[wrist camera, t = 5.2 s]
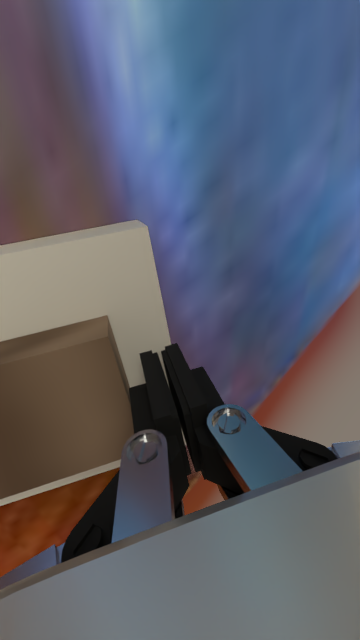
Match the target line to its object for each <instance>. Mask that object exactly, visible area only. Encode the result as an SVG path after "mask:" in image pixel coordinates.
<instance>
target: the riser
mask: <svg viewBox="0 0 360 640" xmlns="http://www.w3.org/2000/svg"><path fill="white" fill-rule="evenodd" d="M106 315H108V318H109V322H110V325H111V328H112V331H113V334H114V338H115V341H116V344H117V347H118V351H119V354H120V357H121V360H122V363H123V367H124V370H125V373H126V376H127V379H128V383H129V386H130V388H131V387H134V386H137V385H141V384H144V383H146V382H145V377H144V373H143V368H142V364H141V359H140V354H139V353H143V352H147V351H150V350H152V353H155V352H157V353H158V356H159V359H160V362H161V365H162V368H163V371H164V374H165V377H166V380H167V376H166V371H165V367H164V363H163V358H162V354H161V351H163V350H165V346H168V345H171V341H170V336H169V331H168V326H167V321H166V316H165V311H164V306H163V301H162V296H161V291H160V286H159V281H158V276H157V271H156V266H155V261H154V256H153V251H152V246H151V241H150V236H149V231H148V226H146V225H145V224H143V223H142V222H140V221H139V220H132V221H127V222H121V223H116V224H111V225H106V226H100V227H95V228H90V229H85V230H79V231H74V232H69V233H64V234H58V235H53V236H48V237H43V238H37V239H32V240H27V241H22V242H16V243H11V244H6V245H0V342H1V341H5V340H9V339H13V338H17V337H21V336H25V335H29V334H33V333H37V332H41V331H45V330H49V329H53V328H57V327H62V326H66V325H70V324H74V323H78V322H82V321H86V320H90V319H94V318H98V317H102V316H106ZM167 383H168V380H167ZM168 386H169V384H168ZM169 389H170V388H169ZM181 430H182V429H181ZM182 434H183V432H182ZM183 439H184V443H185V445H187V444H186V441H185V438H184V435H183ZM120 463H121V459H120V460H117V461H114V462H111V463H108V464H105V465H102V466H99V467H96V468H93V469H90V470H87V471H84V472H81V473H78V474H75V475H72V476H69V477H66V478H63V479H60V480H57V481H54V482H51V483H48V484H45V485H42V486H39V487H36V488H33V489H30V490H27V491H24V492H21V493H18V494H15V495H12V496H9V497H6V498H3V499H0V506H2V505H5V504H8V503H11V502H14V501H17V500H20V499H23V498H26V497H29V496H32V495H35V494H38V493H41V492H45V491H48V490H51V489H54V488H57V487H60V486H63V485H66V484H69V483H72V482H75V481H78V480H81V479H84V478H87V477H90V476H94V475H97V474H100V473H103V472H106V471H109V470H112V469H115V468H118V467H120Z"/></svg>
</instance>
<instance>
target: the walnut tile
mask: <svg viewBox="0 0 360 640" xmlns="http://www.w3.org/2000/svg"><path fill="white" fill-rule="evenodd" d="M129 388H130V386H129V383H128V379H127V376H126V373H125V370H124V367H123V363H122V360H121V357H120V354H119V351H118V347H117V344H116V341H115V338H114V334H113V331H112V328H111V325H110V322H109V318H108V315H106V316H102V317H98V318H94V319H90V320H86V321H82V322H78V323H74V324H70V325H66V326H62V327H57V328H53V329H49V330H45V331H41V332H37V333H33V334H29V335H25V336H21V337H17V338H13V339H9V340H5V341H1V342H0V499H3V498H6V497H9V496H12V495H15V494H18V493H21V492H24V491H27V490H30V489H33V488H36V487H39V486H42V485H45V484H48V483H51V482H54V481H57V480H60V479H63V478H66V477H69V476H72V475H75V474H78V473H81V472H84V471H87V470H90V469H93V468H96V467H99V466H102V465H105V464H108V463H111V462H114V461H117V460H120V459H121V454H122V450H123V446H124V445H125V443H126V441H127V440H128V439H129V438H130V437H131V436H132V435H134V428H133V420H132V412H131V403H130V395H129Z"/></svg>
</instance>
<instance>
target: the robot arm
mask: <svg viewBox="0 0 360 640" xmlns="http://www.w3.org/2000/svg"><path fill="white" fill-rule="evenodd" d="M139 354H140V359H141V364H142V368H143V373H144V377H145V382H146V383H144V384H141V385H137V386H134V387H131V388H129V395H130V403H131V412H132V420H133V428H134V435H132V436H131V437H130V438H129V439H128V440H127V441H126V443H125V445H124V446H123V450H122V454H121V463H120V470H119V471H118V473H117V474H116V475H115V476H114V478H113V479H112V480H111V482H110V483H109V484H108V485H107V487H106V488H105V489H104V490H103V492H102V493H101V494H100V496H99V497H98V498H97V499H96V501H95V502H94V503H93V505H92V506H91V507H90V508H89V510H88V511H87V512H86V513H85V515H84V516H83V517H82V519H81V520H80V521H79V522H78V524H77V525H76V526H75V528H74V529H73V530H72V531H71V533H70V535H69V536H68V538H67V539H66V542H65V543H64V544H62V545H60V546H59V547H56V546H55V544H54V545H53V546H51V547H50V548H48V549H46V550H45V551H43V552H41V553H40V554H38V555H36V556H35V557H33V558H32V559H30V560H28V561H27V562H25V563H23V564H22V565H20V566H18V567H17V568H15V569H13V570H12V571H10V572H9V573H7V574H5V575H4V576H2V577H0V640H360V440H359V441H351V442H341V443H333V444H332V447H329V448H326V447H325V446H323V445H321V444H318V443H316V442H312V441H309V440H306V439H302V438H299V437H296V436H292V435H289V434H286V433H282V432H279V431H276V430H272V429H269V428H266V427H262V426H260V425H259V424H258V423H257V422H256V420H255V419H254V418H253V417H252V416H251V415H250V414H249V413H248V412H247V411H246V410H245V409H243V408H242V407H240V406H237V405H232V404H227V405H225V404H224V402H223V401H222V399H221V397H220V395H219V394H218V392H217V390H216V389H215V387H214V385H213V383H212V382H211V380H210V378H209V376H208V375H207V373H206V371H205V370H204V368H203V367H199V368H196V369H192V370H190V369H189V367H188V365H187V363H186V361H185V359H184V357H183V354H182V352H181V350H180V348H179V346H178V344H177V343H176V344H172V345H168V346H165V350H163V351H161V354H162V358H163V363H164V367H165V371H166V376H167V380H168V383H167V380H166V377H165V374H164V371H163V368H162V365H161V362H160V359H159V356H158V353H157V352H155V353H152V350H150V351H147V352H143V353H139ZM168 384H169V386H168ZM169 388H170V389H169ZM181 429H182V430H181ZM182 432H183V434H182ZM183 435H184V438H185V441H186V444H187V447H188V450H189V453H190V456H191V459H192V462H193V465H194V468H195V471H196V472H198V471H201V472H202V475H203V477H204V479H207V480H209V481H211V482H213V483H216V484H217V485H218V488H219V491H220V493H221V494H222V496H223V498H224V500H225V501H222V502H220V503H217V504H215V505H212V506H209V507H206V508H204V509H201V510H198V511H196V512H193V513H190V514H188V515H184V506H183V501H182V498H183V496H184V494H185V493H186V491H187V489H188V487H189V483H188V479H187V475H189V474H191V469H190V465H189V461H188V456H187V452H186V447H185V443H184V439H183Z"/></svg>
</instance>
